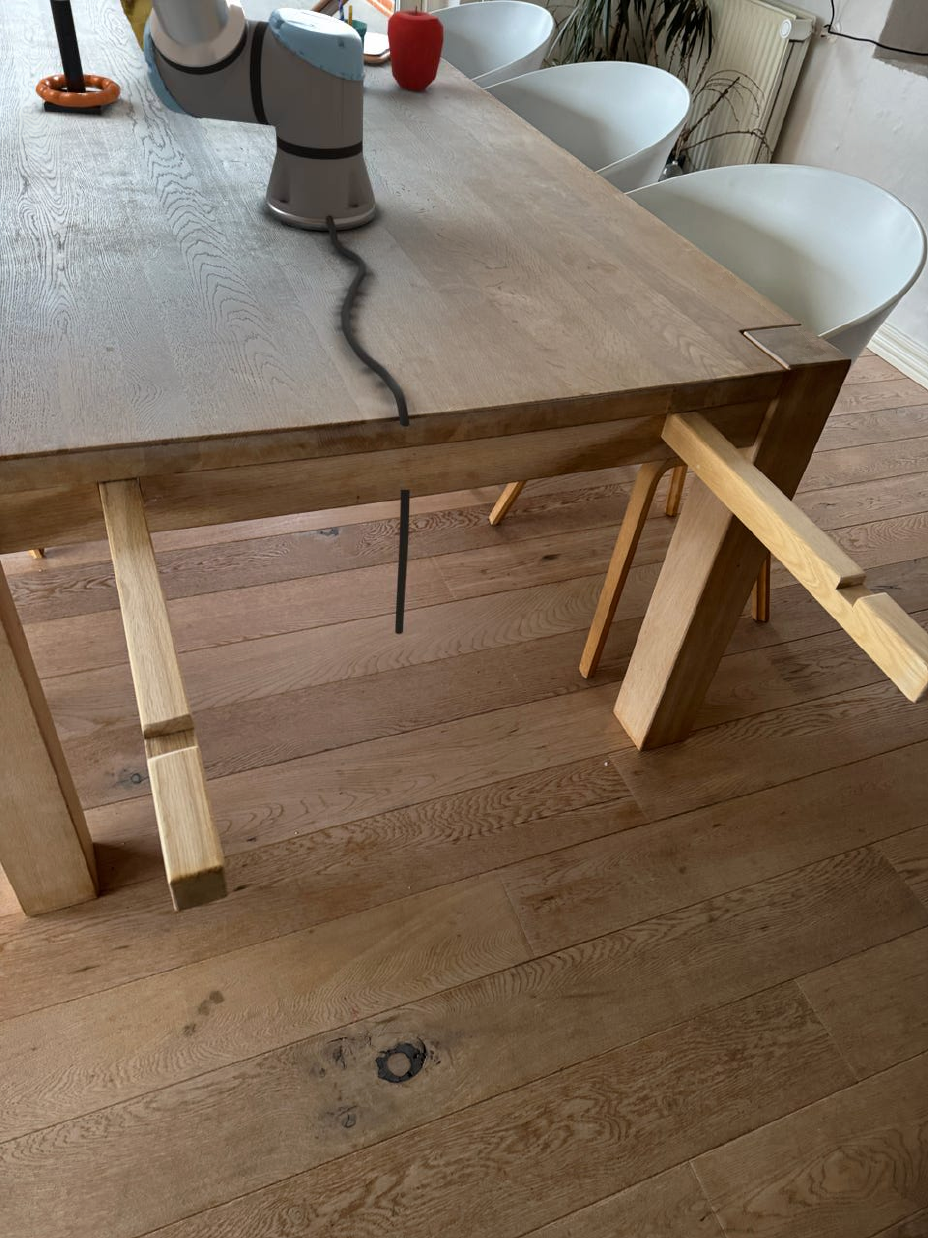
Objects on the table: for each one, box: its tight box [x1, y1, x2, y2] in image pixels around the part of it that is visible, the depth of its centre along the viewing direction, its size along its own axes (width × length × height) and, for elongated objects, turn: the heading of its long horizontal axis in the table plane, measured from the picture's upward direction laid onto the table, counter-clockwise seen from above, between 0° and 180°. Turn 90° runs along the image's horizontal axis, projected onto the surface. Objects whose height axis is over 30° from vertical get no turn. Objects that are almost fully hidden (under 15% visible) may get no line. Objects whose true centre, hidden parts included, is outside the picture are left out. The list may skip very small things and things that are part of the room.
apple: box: [386, 5, 445, 92], centre depth 174 cm, size 11×10×14 cm
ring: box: [35, 73, 122, 107], centre depth 152 cm, size 13×13×2 cm
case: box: [309, 0, 390, 64], centre depth 190 cm, size 20×21×16 cm
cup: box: [337, 0, 368, 55], centre depth 169 cm, size 14×8×15 cm, turn 24°
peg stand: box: [42, 0, 111, 116], centre depth 148 cm, size 9×9×15 cm
